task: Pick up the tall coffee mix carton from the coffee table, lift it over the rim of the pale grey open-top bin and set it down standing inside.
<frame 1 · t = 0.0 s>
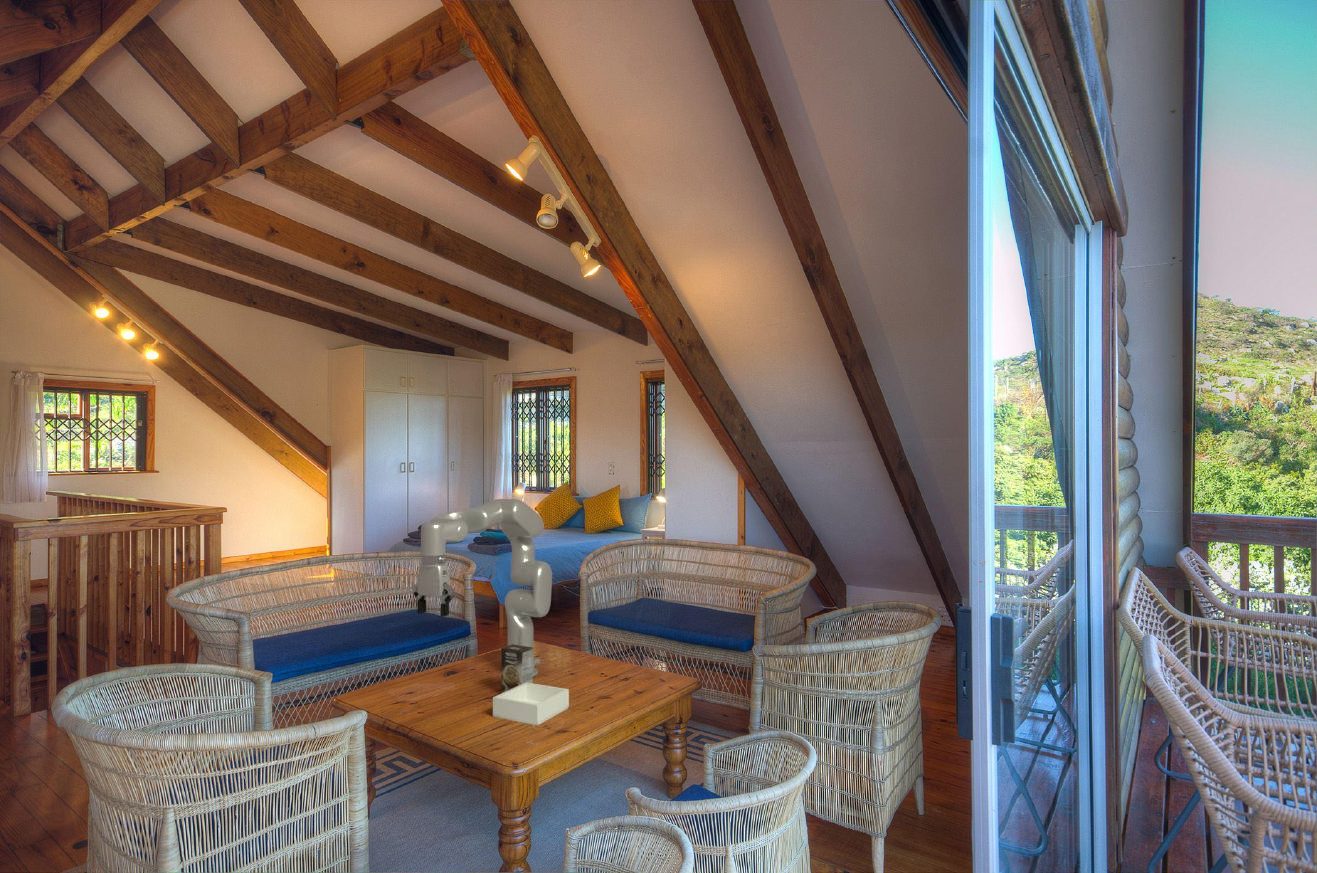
hand: (433, 614, 235), 31 cm above the table, tool pointing down, fingers open, 9 cm apart
coffee box: (517, 695, 252), on the table
bin: (531, 712, 234), on the table
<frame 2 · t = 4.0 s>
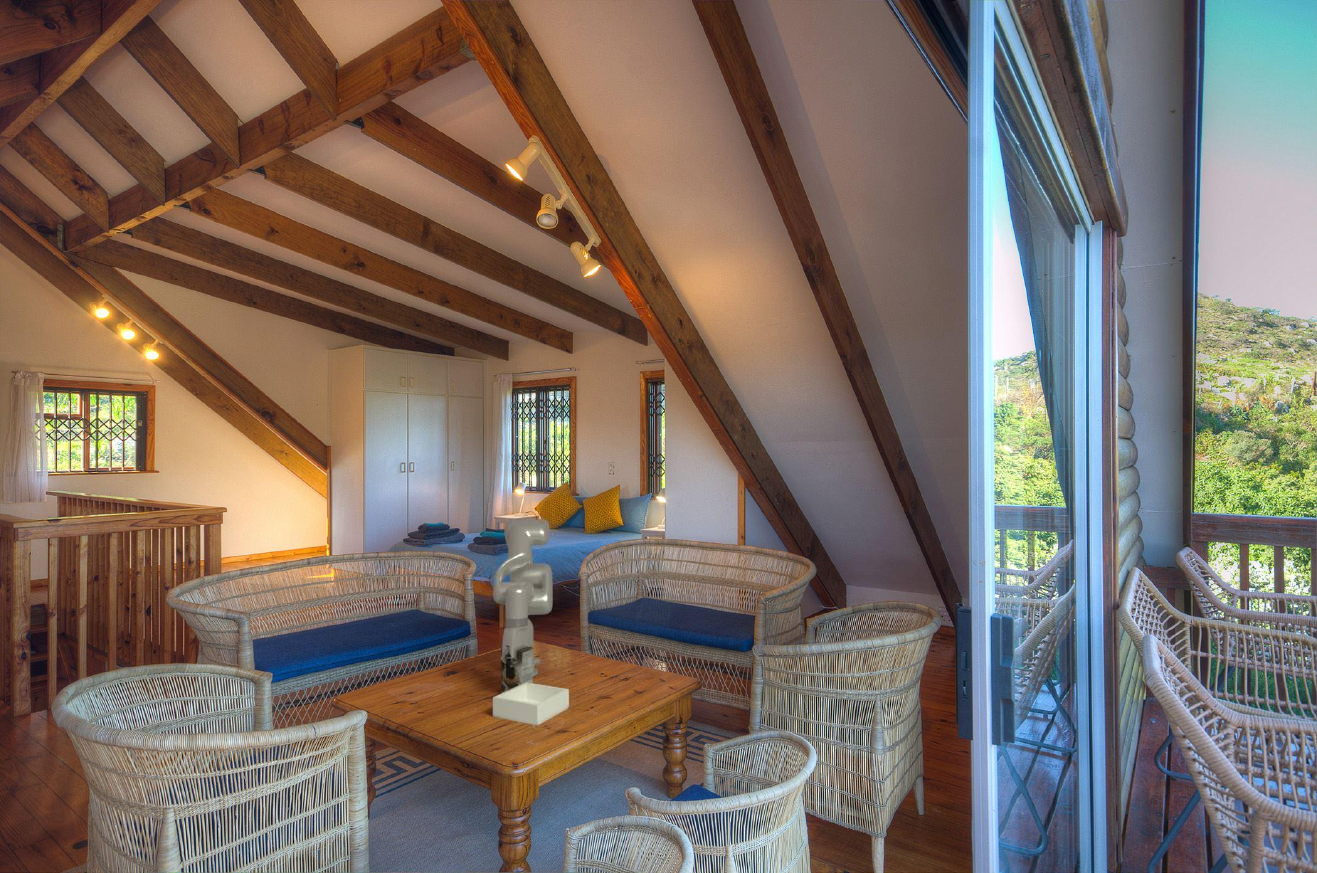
hand: (516, 674, 252), 7 cm above the table, tool pointing down, fingers closed on coffee box, 6 cm apart
coffee box: (517, 695, 252), on the table, touching gripper
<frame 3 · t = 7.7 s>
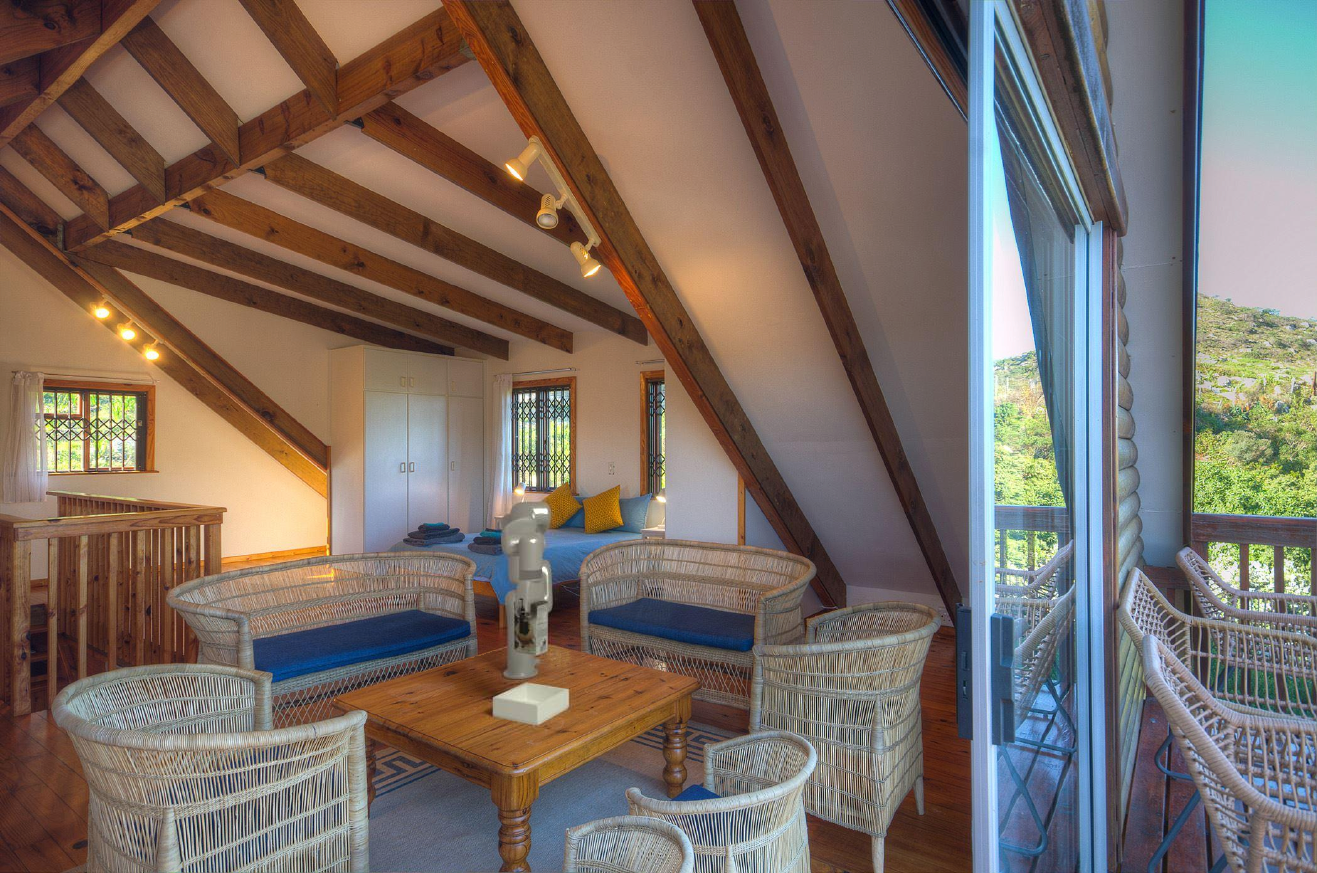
hand: (530, 630, 235), 26 cm above the table, tool pointing down, fingers closed on coffee box, 6 cm apart
coffee box: (531, 652, 235), point 19 cm above the table, touching gripper
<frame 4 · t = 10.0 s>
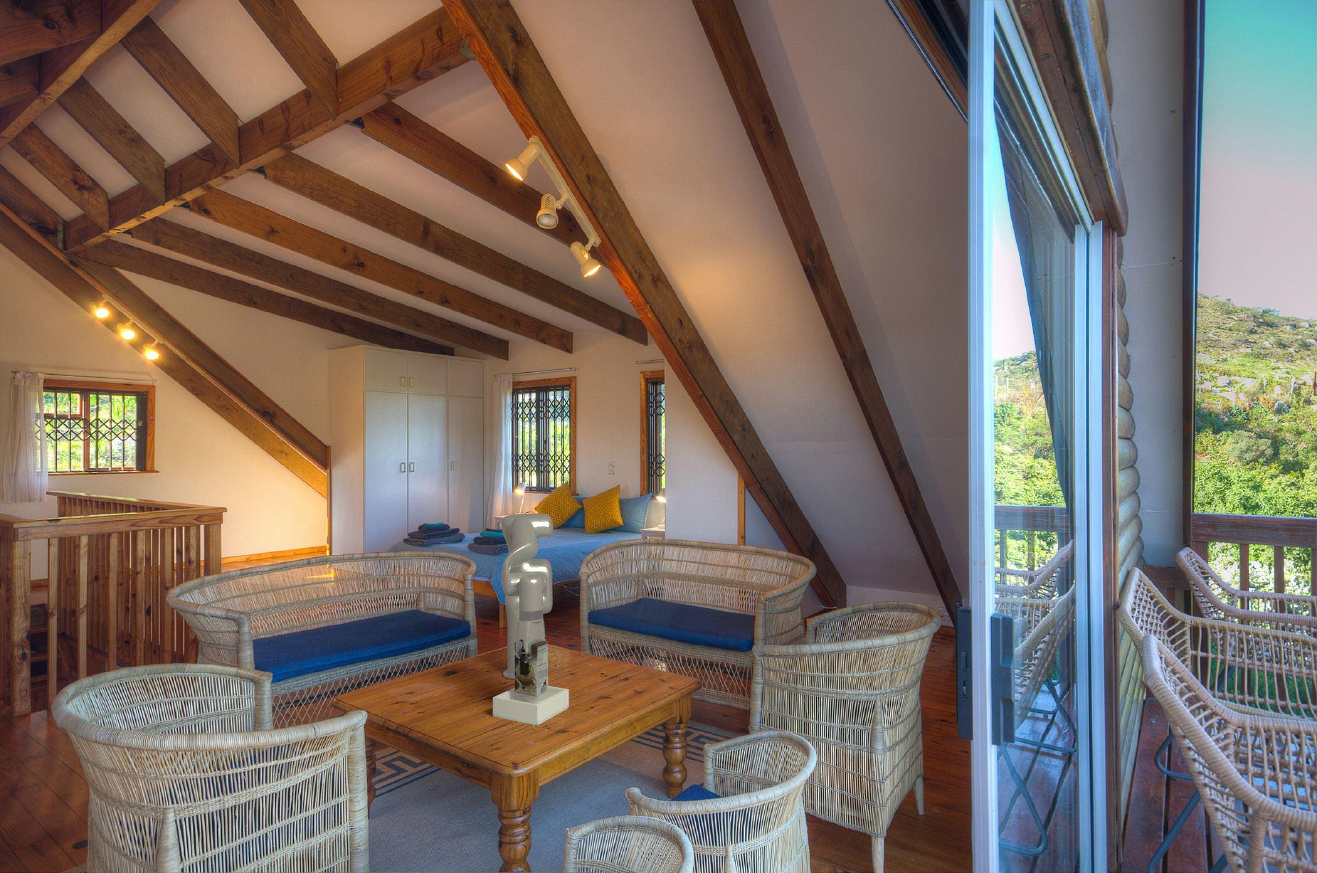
hand: (531, 671, 234), 13 cm above the table, tool pointing down, fingers closed on coffee box, 6 cm apart
coffee box: (531, 693, 234), point 6 cm above the table, touching gripper
when the fingers open (9 cm above the table, at t = 11.8 s): coffee box drops 1 cm, resting on bin.
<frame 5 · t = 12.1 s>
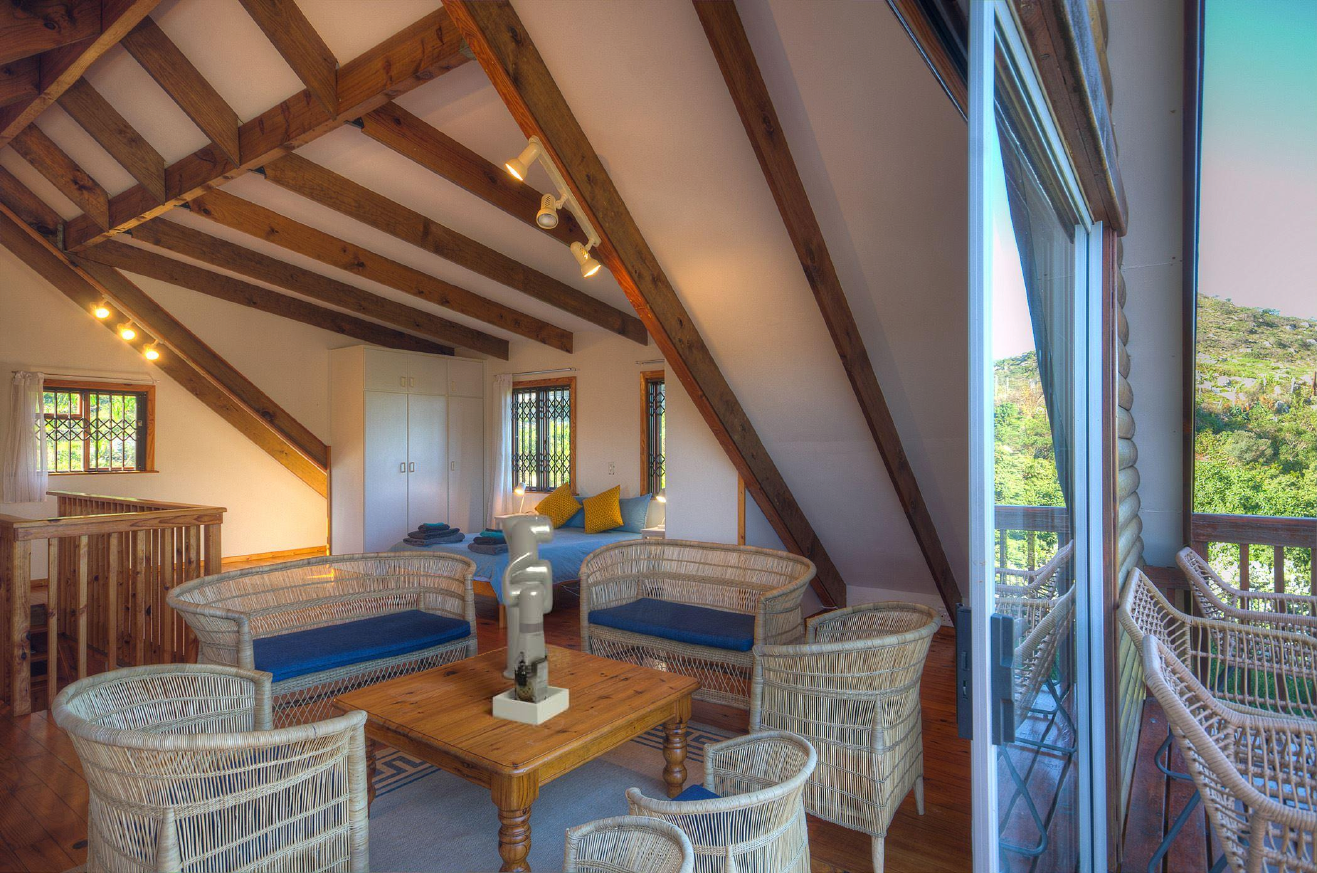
hand: (531, 681, 234), 10 cm above the table, tool pointing down, fingers open, 9 cm apart
coffee box: (531, 710, 235), point 1 cm above the table, touching bin
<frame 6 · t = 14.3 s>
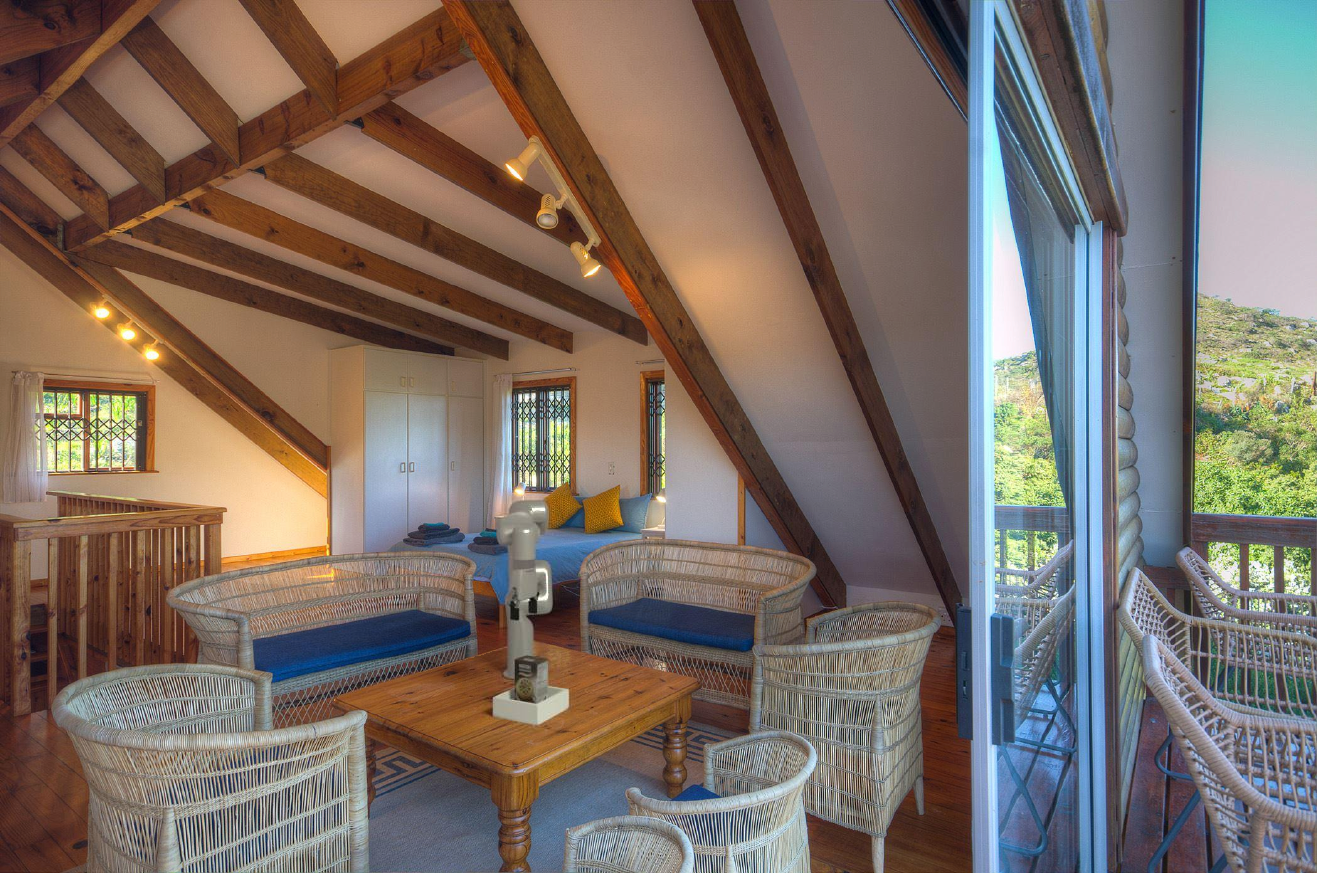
hand: (523, 616, 241), 29 cm above the table, tool pointing down, fingers open, 9 cm apart
nothing on the table moved.
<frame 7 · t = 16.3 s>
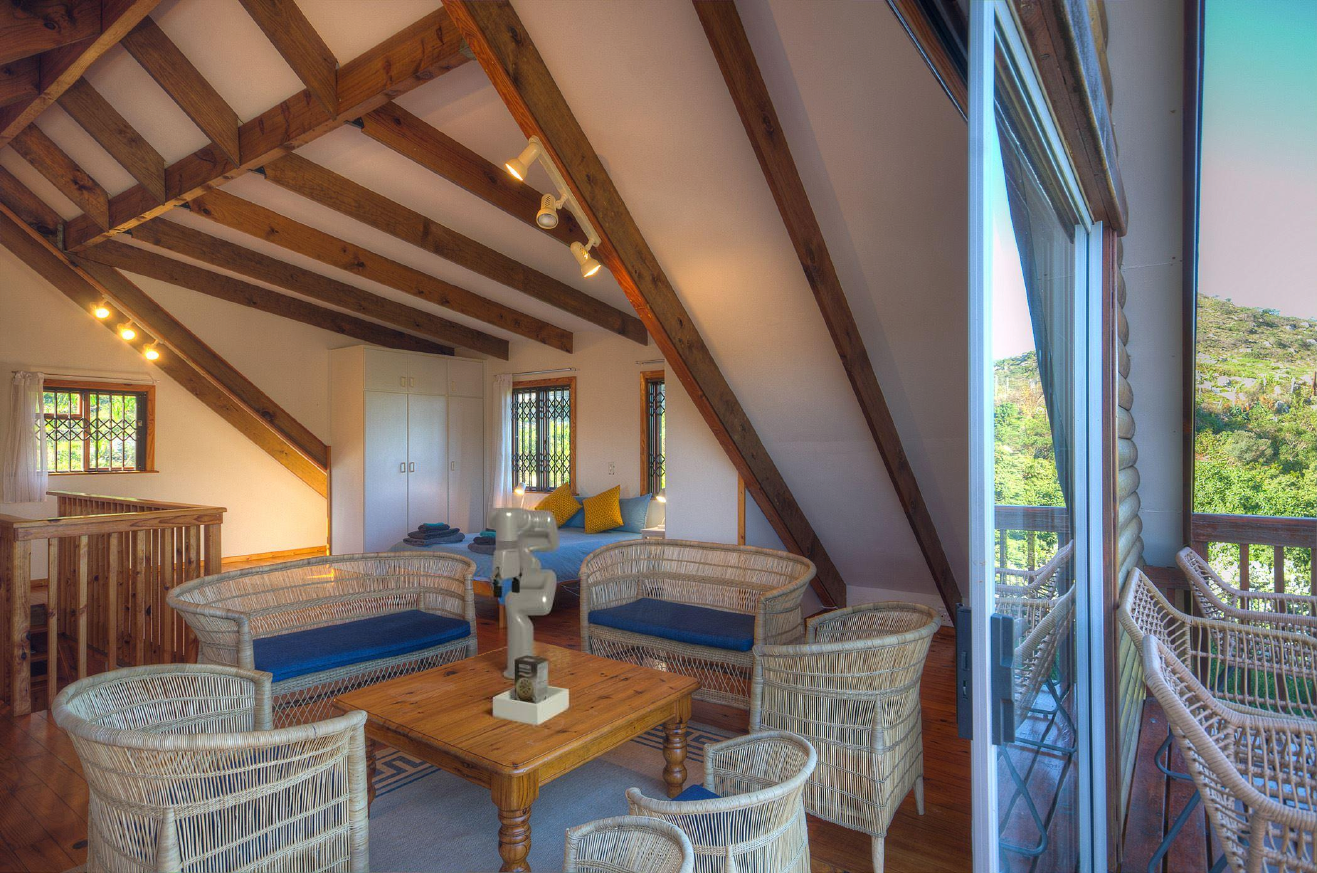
hand: (506, 595, 256), 33 cm above the table, tool pointing down, fingers open, 9 cm apart
nothing on the table moved.
at the end: coffee box inside the target area on the bin (0.3 cm from its centre), point 0.6 cm above the bin's base; coffee box tilted 0°; the gripper is holding nothing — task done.
